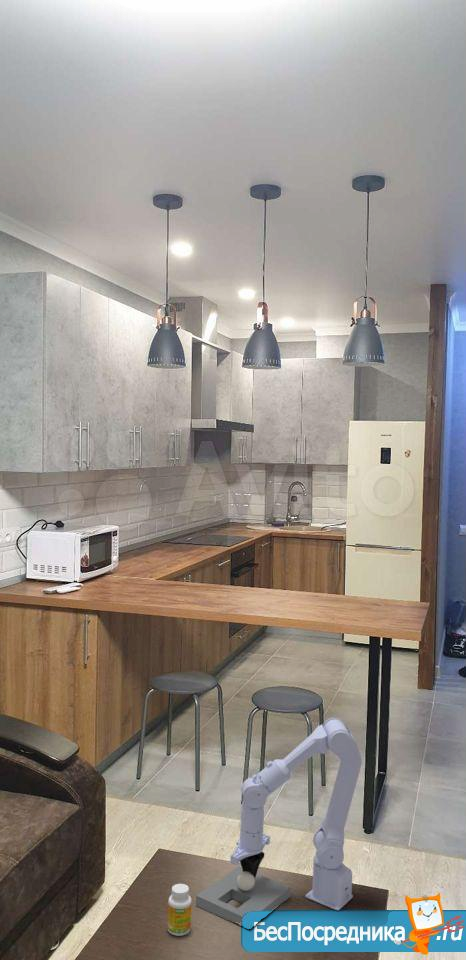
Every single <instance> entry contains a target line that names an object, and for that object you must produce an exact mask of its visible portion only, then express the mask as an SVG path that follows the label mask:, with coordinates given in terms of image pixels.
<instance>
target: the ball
mask: <svg viewBox="0 0 466 960" xmlns="http://www.w3.org/2000/svg"><path fill="white" fill-rule="evenodd" d="M237 883H238V886H239V888H240V889H241V890H243V891H249V890H251V889H252V888H253V887H254V884H255V878H254V876H253V875H252V874H251V873H250V872H248V871H244V872H242V873H240V874H239V876H238V879H237Z"/></svg>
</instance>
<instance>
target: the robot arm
mask: <svg viewBox="0 0 466 960" xmlns="http://www.w3.org/2000/svg"><path fill="white" fill-rule="evenodd" d="M357 743H358V742H357V741H356V739H355V738H354V736H353V735H352V732H351V731H350V728H349V727H348V726H347V725H346V723H345V722H344V720H341V718H338V717H330V718H328V719H326V720H325V721H324V723H323V724H320V725H318V726H317V727H315V729H314V730H313V731H312V733H311V734H310V735H308V736H307V737H306V738H305V740H303V741H302V742H301V743H300V744H298V745H297V746H296V747H295V748H294V749H293V750H292V751H291V752H290V753H289V754H287V755H286V756H285V757H284V758H283V759H279V758H276V759H274V760H273V761H272V760H269V761H267V762H266V766H265V767H264V768H263V769H261V771H259V772H258V773H257V774H255V773H254V774H253V775H252V777H249V778H246V779H245V780H244V781H243V783H242V785H241V787H240V791H241V794H242V802H241V803H242V804H241V811H240V813H241V814H240V828H239V829H240V830H239V831H240V832H239V833H240V834H239V839H238V840H236V845H237V846H236V848H235V849H234V851H233V853H232V854H231V855H230V861H229V862H230V863H231V864H233V865H235V866H238V865H239V864H240V867H242V870H243V872H244V871H248V872H250V873H251V874H252V875H253V876H254V878H255V877H256V874H258V870H259V867H260V865H261V863H262V861H263V860H264V858H265V852H264V851H263V850H264V848H265V847H266V845H267V846H268V845H269V844H270V842H271V836H270V835H268V834H265V833H264V822H265V821H264V819H265V809H264V806H265V805H266V803H267V801H268V796H270V795H271V794H273V793H274V792H275V791H276V790H278V789H279V788H280V787H282V785H284V784H285V783H286V782H287V781H289V780H290V779H291V772H292V771H293V770H295V769H296V768H297V767H299V766H300V765H302V764H303V763H305V762H306V761H307V760H309V759H310V758H311V757H313V756H315V754H323V755H329V754H330V752H329V750H330V751H331V753H332V754H334V755H336V756H337V757H338V758H339V759H340V760H339V761H340V762H339V766H338V768H337V769H338V770H337V774H336V777H335V782H334V785H333V789H332V792H331V795H330V796H331V797H330V799H329V803H328V806H327V811H326V815H325V817H324V819H323V820H322V821H321V822H320V826H319V828H318V829H317V831H315V833H314V834H313V840H312V842H313V845H314V847H315V850H316V852H315V855H314V856H313V864H312V865H313V867H312V887H311V888H312V889H311V890H310V891H308V893H306V894H305V898H306V899H308V900H311V901H314V902H315V903H319V904H321V905H323V906H325V907H328V908H330V909H333V910H334V911H340V910H341V909H342V908H343V907H344V906H345V905H346V904H348V902H349V901H351V899H353V896H354V895H353V894H352V893H353V892H352V890H353V872H352V869H351V868H349V867H347V866H346V865H345V864H344V863H343V861H344V860H345V853H344V844H345V827H346V823H347V819H348V815H349V812H350V809H351V805H352V802H353V801H352V800H353V798H354V793H355V790H356V786H357V783H358V779H359V775H360V771H361V767H362V764H363V759H362V756H361V753H360V750H359V747H358V744H357Z"/></svg>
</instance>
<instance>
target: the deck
mask: <svg viewBox="0 0 466 960" xmlns="http://www.w3.org/2000/svg"><path fill="white" fill-rule="evenodd" d="M242 872H243V870H242V866H241V865H240V866H238V865H237V867H236V868H234V869H233V870H231V871H230V872H228V873H227V874H225V875H224V876H223V877H221V878H220V879H218V880H216V881H214V883H212V884H210V886H208V887H207V888H204V890H202V891H201V892H199V893H198V894H196V896H195V906H196V907H198V908H201V909H202V910H205V911H206V912H209V913H210V914H213V915H215V916H217V915H218V917H219V916H220V917H219V918H221V917H223V918H222V919H224V918H225V919H224V920H226V919H227V920H226V921H228V920H230V921H232V922H238V923H240V922H241V921H242V918H243V915H244V914H245V913H247V912H251V911H266V910H272V909H274V908H275V907H277V906H279V905H280V904H281V903H283V902H284V901H285V902H286V901H288V900H289V899H291V887H290V886H289V885H286V884H283V883H282V882H279V881H277V880H274V879H271V878H270V877H267V876H264V875H261V874H259V873H257V874H256V877H255V884H254V887H253V888H252V889H251V890H249V891H243V890H241V889H240V888H239V886H238V883H237V879H238V876H239V874H240V873H242ZM233 899H234V900H233ZM230 900H233V901H236V902H238V901H239V902H238V903H240V902H241V903H240V904H242V903H244V904H242V905H240V906H238V907H235V906H233V905H231V904H229V903H228V902H230ZM226 902H227V903H226ZM285 902H284V903H285ZM284 903H283V904H284ZM281 905H282V904H281ZM281 905H280V906H281ZM280 906H279V907H280ZM230 921H229V922H230ZM232 922H231V923H232Z"/></svg>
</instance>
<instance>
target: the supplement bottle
mask: <svg viewBox="0 0 466 960" xmlns="http://www.w3.org/2000/svg"><path fill="white" fill-rule="evenodd" d="M167 904H168V905H167V931H168V933H169V934H171V935H173V936H175V937H177V936H178V937H179V936H180V937H182V936H185V935H187V934H189V933H190V931H191V927H192V897H191V896H190V889H189V886H188V885H187V884H184V883H177V884H176V883H175V884H174V885H172V886H171V894H170V895H169V897H168V902H167Z"/></svg>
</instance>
